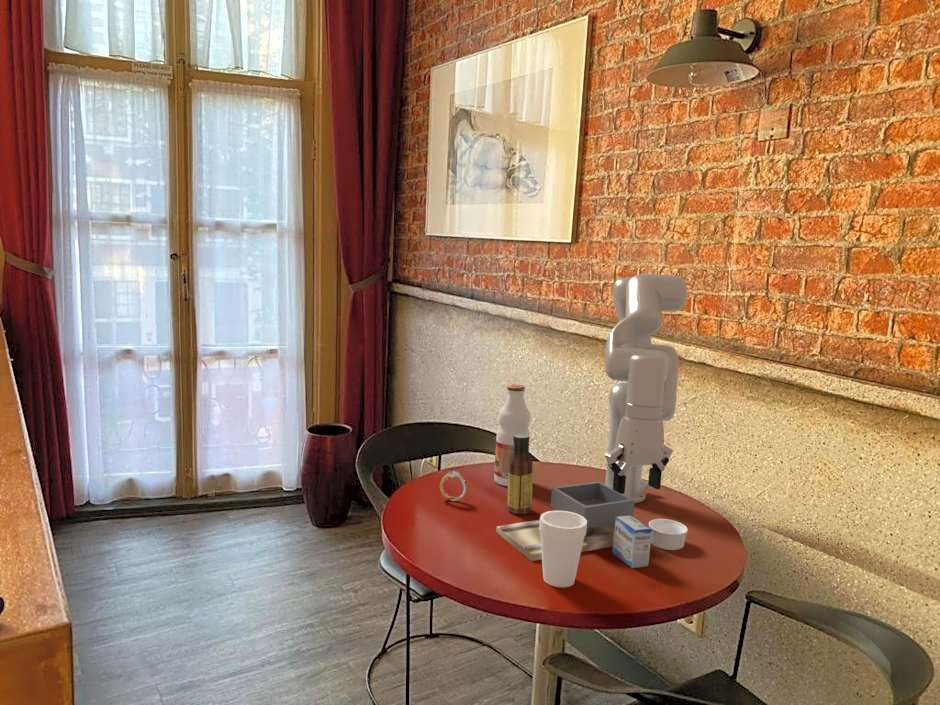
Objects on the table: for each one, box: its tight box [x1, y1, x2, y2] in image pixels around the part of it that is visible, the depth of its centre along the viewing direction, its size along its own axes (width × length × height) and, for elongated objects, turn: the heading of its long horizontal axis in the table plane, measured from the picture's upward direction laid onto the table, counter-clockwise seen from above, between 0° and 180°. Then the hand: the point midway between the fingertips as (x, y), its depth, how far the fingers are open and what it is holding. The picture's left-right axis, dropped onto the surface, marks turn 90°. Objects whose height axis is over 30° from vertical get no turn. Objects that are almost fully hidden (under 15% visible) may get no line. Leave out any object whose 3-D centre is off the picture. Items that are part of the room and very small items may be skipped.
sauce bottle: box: [507, 434, 534, 515], centre depth 179 cm, size 7×6×20 cm
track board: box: [495, 519, 615, 562], centre depth 166 cm, size 30×16×2 cm, turn 117°
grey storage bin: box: [550, 481, 636, 536], centre depth 168 cm, size 14×14×7 cm
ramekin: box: [648, 518, 689, 551], centre depth 165 cm, size 9×9×4 cm
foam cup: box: [539, 510, 587, 588], centre depth 144 cm, size 10×9×13 cm
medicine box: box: [611, 515, 652, 569], centre depth 155 cm, size 8×4×9 cm, turn 21°
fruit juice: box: [493, 383, 531, 487], centre depth 200 cm, size 9×9×28 cm
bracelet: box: [439, 469, 468, 502], centre depth 185 cm, size 7×3×8 cm, turn 74°
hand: (636, 489), depth 153 cm, fingers open, 9 cm apart
